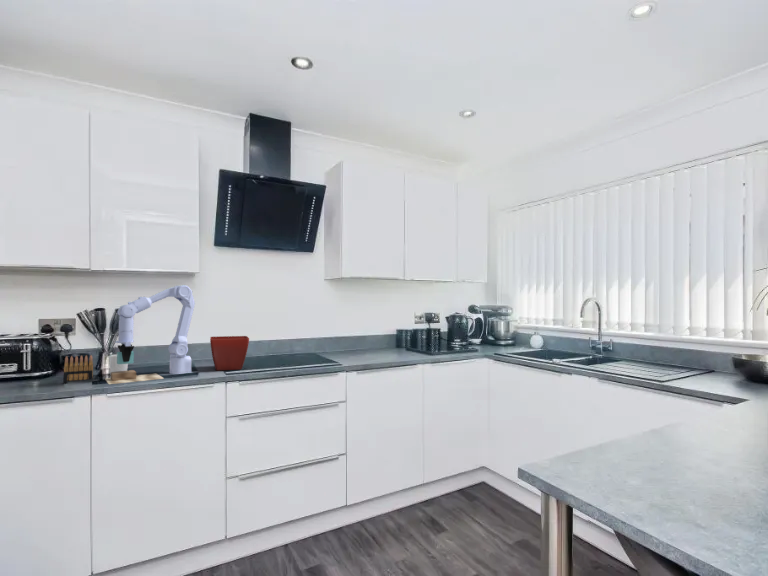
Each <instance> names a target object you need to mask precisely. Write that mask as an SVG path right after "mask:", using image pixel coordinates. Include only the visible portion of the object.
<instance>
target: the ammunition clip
mask: <svg viewBox="0 0 768 576" xmlns="http://www.w3.org/2000/svg"><path fill="white" fill-rule="evenodd" d="M79 357H80V358H79ZM79 357H78V355H76V356H75V358H74V357H73V355H71V356H70V359H69V357H68V355H66V356H65V358H64V365H63V377H62V378H63V379H62V385H64V384H65V385H66V384H67V385H68V382H75V381H77V382H78V381H89V380H94V362H93V361H94V360H93V355H92V354H90V356H89V358H88V355H87V354H86V355H85V356H84V357H83V354H82V355H80V356H79Z"/></svg>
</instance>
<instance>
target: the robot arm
mask: <svg viewBox="0 0 768 576" xmlns="http://www.w3.org/2000/svg"><path fill="white" fill-rule="evenodd" d="M169 297H170V298H175V299H176V300H178V301H179V302H180V304H181V305H182V308H181V311H180V316H179V319H178V324H177V328H176V332H175V336H174V337H173V339H172V341H171V343H170V344H169V345H168V349H167V351H168V352H169V354H170V355H169V374H170V375H179V374H180V375H181V374H186V373H187V374H188V373H189V374H190V373H192V358H191V356H190V355H187V353H188V351H189V347H188V344H189V342H188V333H189V330H190V325H191V321H192V318H193V315H194V314H193V313H194V308H195V305H196V301H195V298H194V295H193V290H192V289H191V288H190V287H189V285H186V284H184V285H183V284H182V285H174V286H172V287H168V288H166V289H164V290H161V291H158V293H155V294H152V295H151V296H149V297H147V296H138V297H137V299H135V300H132V301H128V302H127V304H123V305H120V306H119V308H118V309H117V315H118V316H119V317H118V319H119V320H118V339H117V340H116V341H115V344H117V343H118V344H120V345H117V348H118V350H119V351H118V352H122V358H123V362H129V360H130V356H131V352H132V351H133V350H134V348H135V346H134V345H133V344H132V343H134V342H135V341H134V329H135V327H134V324H135V323H134V317H135V315H136V314H138V313H141V312H143V311H145V310H147V309H149V308H151V307H152V304H154V303H157V302H159V301H161V300H164V299H166V298H169Z"/></svg>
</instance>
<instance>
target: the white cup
mask: <svg viewBox="0 0 768 576" xmlns="http://www.w3.org/2000/svg"><path fill="white" fill-rule="evenodd" d="M108 358H109V359H108V362H109V363H108V364H109V375H110V376H111V372H118V371H128V368H129V367H128V365H129V364H117V353H116V354H111V355H109V356H108Z"/></svg>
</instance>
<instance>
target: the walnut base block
mask: <svg viewBox="0 0 768 576" xmlns="http://www.w3.org/2000/svg"><path fill="white" fill-rule="evenodd" d="M136 375H137V371H135V370H134V369H130V370H127V371H118V372H111V375H110V378H111V380H112V381H118V380H128V379H136Z"/></svg>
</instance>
